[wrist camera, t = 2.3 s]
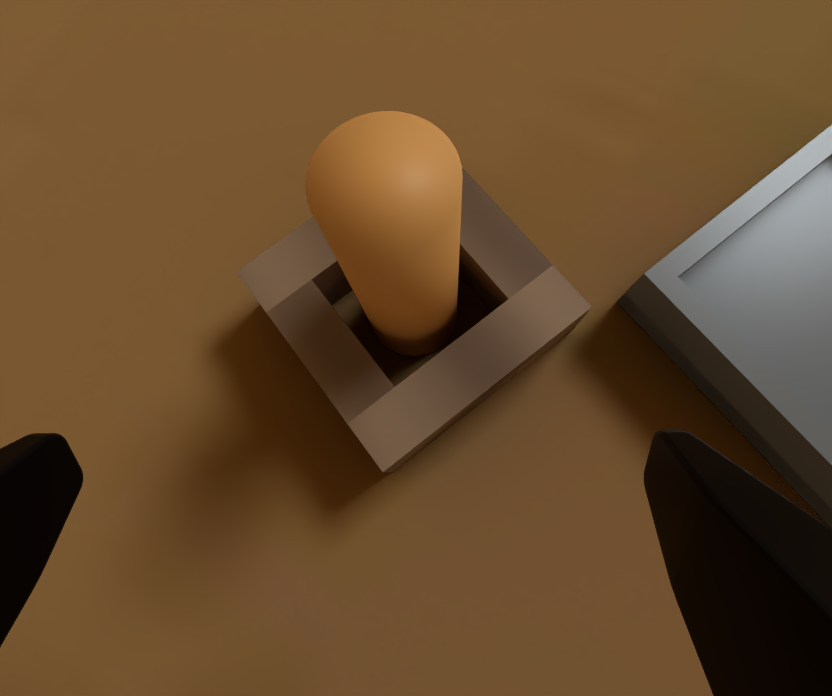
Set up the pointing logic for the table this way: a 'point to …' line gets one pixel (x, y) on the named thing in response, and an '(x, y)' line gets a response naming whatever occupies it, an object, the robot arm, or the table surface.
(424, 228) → the pin
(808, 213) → the tray
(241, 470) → the table surface
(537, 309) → the socket block
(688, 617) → the robot arm
